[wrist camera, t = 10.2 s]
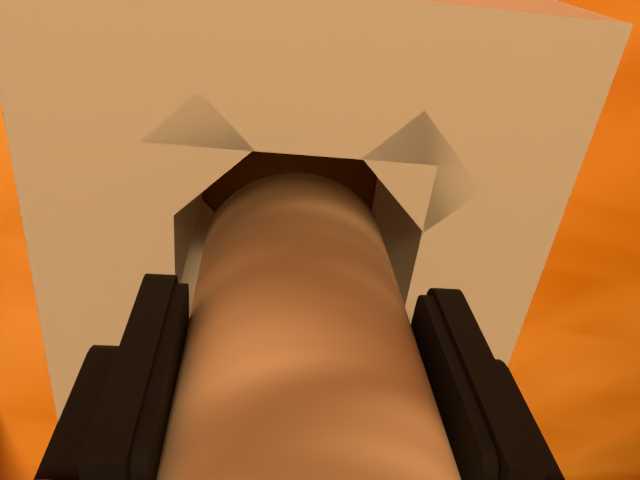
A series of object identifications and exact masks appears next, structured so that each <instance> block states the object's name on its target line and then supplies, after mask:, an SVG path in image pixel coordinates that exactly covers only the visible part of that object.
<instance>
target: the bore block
mask: <svg viewBox="0 0 640 480" xmlns="http://www.w3.org/2000/svg"><path fill="white" fill-rule="evenodd" d="M632 27H633V24H630V23H627V22H624V21H621V20H618V19H615V18H611V17H608V16H605V15H602V14H599V13H596V12H592V11H589V10H586V9H583V8H580V7H577V6H573V5H570V4H567V3H564V2H561V1H558V0H0V100H1V106H2V111H3V117H4V123H5V128H6V134H7V139H8V145H9V151H10V156H11V162H12V167H13V173H14V179H15V184H16V190H17V196H18V201H19V207H20V212H21V218H22V224H23V229H24V235H25V240H26V246H27V252H28V257H29V263H30V268H31V274H32V280H33V285H34V291H35V296H36V302H37V308H38V313H39V319H40V325H41V330H42V336H43V341H44V347H45V353H46V358H47V364H48V369H49V375H50V381H51V386H52V392H53V397H54V403H55V409H56V414H57V420H58V421H59V418H60V416H61V414H62V411H63V409H64V407H65V404H66V402H67V399H68V397H69V395H70V392H71V390H72V388H73V385H74V383H75V380H76V378H77V376H78V373H79V371H80V369H81V366H82V364H83V361H84V359H85V357H86V354H87V352H88V351H89V349H90V347H92V346H93V345H110V346H119V345H120V342H121V339H122V336H123V333H124V331H125V328H126V325H127V322H128V319H129V316H130V314H131V311H132V308H133V305H134V302H135V300H136V297H137V294H138V291H139V288H140V285H141V283H142V280H143V277H144V275H145V274H146V273H147V274H167V275H177V277H178V283H188V285H189V316H190V311H191V307H192V302H193V297H194V292H195V287H196V283H197V278H198V273H199V268H200V263H201V259H202V254H203V249H204V244H205V239H206V235H207V231H208V228H209V225H210V223H211V220H212V218H213V217H214V215H215V212H214V211H213V210H212V209H211V208H210V207H209V206H208V205H207V204H206V203H205V202H204V201H203V200H202V192H203V191H204V190H205V189H207V188H208V187H209V186H210V185H211V184H213V183H214V182H215V181H216V180H218V179H219V178H220V177H221V176H222V175H224V174H225V173H226V172H227V171H229V170H230V169H231V168H232V167H233V166H235V165H236V164H237V163H238V162H240V161H241V160H242V159H243V158H244V157H246V156H247V155H248V154H249V153H251V152H252V151H258V152H271V153H283V154H296V155H309V156H322V157H335V158H348V159H361V160H364V161H365V162H366V164H367V165H368V166H369V167H370V168H371V170H372V171H373V172H374V173H375V175H376V176H377V183H376V188H375V194H374V200H373V205H372V213H373V215H374V217H375V219H376V221H377V224H378V227H379V230H380V233H381V236H382V239H383V242H384V245H385V248H386V251H387V254H388V257H389V260H390V263H391V266H392V269H393V272H394V275H395V278H396V282H397V285H398V288H399V291H400V294H401V297H402V300H403V303H404V306H405V309H406V312H407V315H408V318H409V321H410V324H411V321H412V317H413V313H414V309H415V305H416V301H417V298H418V296H419V295H426V294H427V292H428V290H429V289H430V288H445V289H459V290H461V291H462V293H463V294H464V296H465V298H466V300H467V302H468V305H469V307H470V309H471V311H472V313H473V315H474V317H475V319H476V321H477V323H478V325H479V327H480V329H481V331H482V333H483V335H484V337H485V339H486V341H487V343H488V346H489V348H490V350H491V352H492V354H493V356H494V358H495V359H500V360H501V361H503V362H504V363H505V364H506V366H508V363H509V360H510V358H511V355H512V352H513V349H514V347H515V344H516V341H517V339H518V336H519V333H520V330H521V328H522V325H523V322H524V320H525V317H526V314H527V311H528V309H529V306H530V303H531V301H532V298H533V295H534V293H535V290H536V287H537V284H538V282H539V279H540V276H541V274H542V271H543V268H544V265H545V263H546V260H547V257H548V255H549V252H550V249H551V246H552V244H553V241H554V238H555V236H556V233H557V230H558V227H559V225H560V222H561V219H562V217H563V214H564V211H565V209H566V206H567V203H568V200H569V198H570V195H571V192H572V190H573V187H574V184H575V181H576V179H577V176H578V173H579V171H580V168H581V165H582V162H583V160H584V157H585V154H586V152H587V149H588V146H589V143H590V141H591V138H592V135H593V133H594V130H595V127H596V125H597V122H598V119H599V116H600V114H601V111H602V108H603V106H604V103H605V100H606V97H607V95H608V92H609V89H610V87H611V84H612V81H613V78H614V76H615V73H616V70H617V68H618V65H619V62H620V59H621V57H622V54H623V51H624V49H625V46H626V43H627V41H628V38H629V35H630V32H631V30H632Z"/></svg>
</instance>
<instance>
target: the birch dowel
mask: <svg viewBox="0 0 640 480" xmlns="http://www.w3.org/2000/svg"><path fill="white" fill-rule="evenodd" d="M156 480H461V477H460V474H459V471H458V468H457V465H456V462H455V459H454V456H453V453H452V450H451V447H450V444H449V441H448V438H447V434H446V431H445V428H444V425H443V422H442V419H441V416H440V413H439V410H438V407H437V404H436V401H435V398H434V395H433V392H432V389H431V386H430V382H429V379H428V376H427V373H426V370H425V367H424V364H423V361H422V358H421V355H420V352H419V349H418V346H417V343H416V340H415V337H414V334H413V330H412V327H411V324H410V321H409V318H408V315H407V312H406V309H405V306H404V303H403V300H402V297H401V294H400V291H399V288H398V285H397V282H396V278H395V275H394V272H393V269H392V266H391V263H390V260H389V257H388V254H387V251H386V248H385V245H384V242H383V239H382V236H381V233H380V230H379V227H378V224H377V221H376V219H375V217H374V215H373V213H372V211H371V210H370V208H369V207H368V206H367V204H366V203H365V202H364V201H363V200H362V199H361V198H360V197H359V196H358V195H357V194H356V193H354V192H353V191H352V190H351V189H349V188H348V187H346V186H344V185H342V184H341V183H339V182H337V181H334V180H332V179H329V178H327V177H323V176H320V175H316V174H309V173H294V172H290V173H280V174H275V175H270V176H266V177H263V178H260V179H258V180H255V181H253V182H251V183H249V184H247V185H245V186H243V187H242V188H240V189H239V190H237V191H236V192H234V193H233V194H232V195H231V196H230V197H229V198H228V199H226V200H225V201H224V203H223V204H222V205H221V206H220V207H219V209H218V210H217V212H216V213H215V215H214V217H213V218H212V220H211V223H210V225H209V228H208V231H207V235H206V239H205V244H204V249H203V254H202V259H201V263H200V268H199V273H198V278H197V283H196V287H195V292H194V297H193V302H192V307H191V311H190V316H189V323H188V328H187V333H186V337H185V342H184V347H183V352H182V357H181V362H180V366H179V371H178V376H177V381H176V386H175V391H174V395H173V400H172V405H171V410H170V415H169V419H168V424H167V429H166V434H165V439H164V444H163V448H162V453H161V458H160V463H159V468H158V473H157V477H156Z"/></svg>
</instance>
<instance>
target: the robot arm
mask: <svg viewBox="0 0 640 480" xmlns="http://www.w3.org/2000/svg"><path fill="white" fill-rule="evenodd" d="M188 323H189V285H188V283H178V277H177V275H167V274H147V273H146V274H145V275H144V277H143V280H142V283H141V285H140V288H139V291H138V294H137V297H136V300H135V302H134V305H133V308H132V311H131V314H130V316H129V319H128V322H127V325H126V328H125V331H124V333H123V336H122V339H121V342H120V345H119V346H110V345H93V346H92V347H90V349H89V351H88V352H87V354H86V357H85V359H84V361H83V364H82V366H81V369H80V371H79V373H78V376H77V378H76V380H75V383H74V385H73V388H72V390H71V392H70V395H69V397H68V399H67V402H66V404H65V407H64V409H63V411H62V414H61V416H60V418H59V421H58V423H57V426H56V428H55V430H54V433H53V435H52V437H51V440H50V442H49V445H48V447H47V449H46V452H45V454H44V456H43V459H42V461H41V464H40V466H39V468H38V471H37V473H36V476H35V478H34V480H156V477H157V473H158V468H159V463H160V458H161V453H162V448H163V444H164V439H165V434H166V429H167V424H168V419H169V415H170V410H171V405H172V400H173V395H174V391H175V386H176V381H177V376H178V371H179V366H180V362H181V357H182V352H183V347H184V342H185V337H186V333H187V328H188ZM411 327H412V330H413V334H414V337H415V340H416V343H417V346H418V349H419V352H420V355H421V358H422V361H423V364H424V367H425V370H426V373H427V376H428V379H429V382H430V386H431V389H432V392H433V395H434V398H435V401H436V404H437V407H438V410H439V413H440V416H441V419H442V422H443V425H444V428H445V431H446V434H447V438H448V441H449V444H450V447H451V450H452V453H453V456H454V459H455V462H456V465H457V468H458V471H459V474H460V477H461V480H565V479H564V477H563V475H562V473H561V471H560V469H559V467H558V465H557V463H556V461H555V459H554V457H553V455H552V453H551V451H550V449H549V447H548V445H547V443H546V441H545V439H544V437H543V435H542V433H541V431H540V429H539V428H538V426H537V424H536V422H535V420H534V418H533V416H532V414H531V412H530V410H529V408H528V406H527V404H526V402H525V400H524V398H523V396H522V394H521V392H520V390H519V388H518V386H517V384H516V382H515V380H514V378H513V376H512V374H511V372H510V370H509V368H508V367H507V366H506V364H505V363H504V362H503V361H501V360H500V359H495V358H494V356H493V354H492V352H491V350H490V348H489V346H488V343H487V341H486V339H485V337H484V335H483V333H482V331H481V329H480V327H479V325H478V323H477V321H476V319H475V317H474V315H473V313H472V311H471V309H470V307H469V305H468V302H467V300H466V298H465V296H464V294H463V293H462V291H461V290H459V289H445V288H430V289H429V290H428V292H427V294H426V295H419V296H418V298H417V301H416V305H415V309H414V313H413V317H412V321H411Z"/></svg>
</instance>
